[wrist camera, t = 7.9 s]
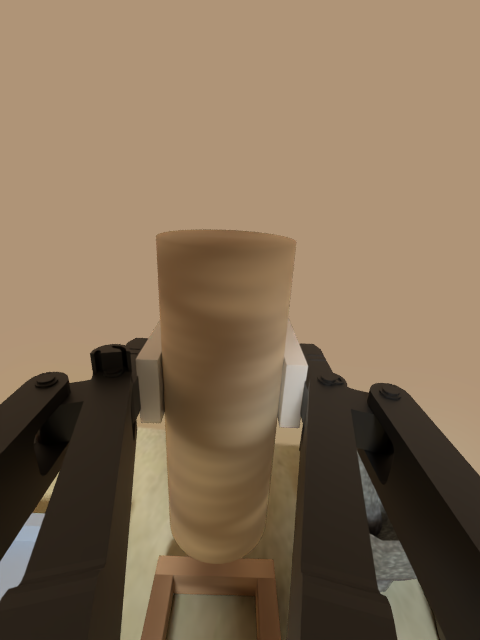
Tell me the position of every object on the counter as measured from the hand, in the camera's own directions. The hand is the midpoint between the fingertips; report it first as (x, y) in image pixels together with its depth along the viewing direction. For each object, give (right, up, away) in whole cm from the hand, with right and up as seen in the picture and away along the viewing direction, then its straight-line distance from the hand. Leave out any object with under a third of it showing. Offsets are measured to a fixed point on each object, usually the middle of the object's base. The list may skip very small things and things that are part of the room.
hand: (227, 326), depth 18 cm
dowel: (0, -9, -2) cm, 9 cm away
